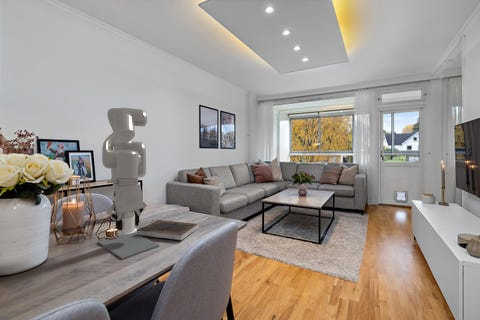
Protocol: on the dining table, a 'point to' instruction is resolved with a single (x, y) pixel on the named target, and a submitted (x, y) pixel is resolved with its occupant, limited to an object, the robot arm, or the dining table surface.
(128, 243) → the mat
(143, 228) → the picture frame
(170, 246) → the dining table surface
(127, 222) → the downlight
